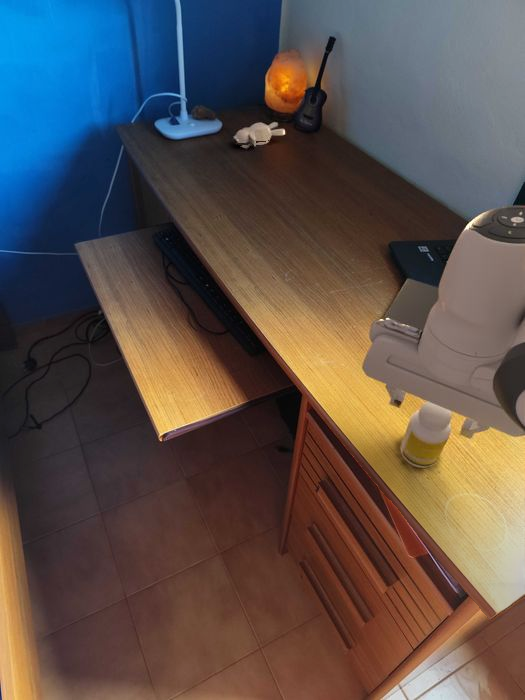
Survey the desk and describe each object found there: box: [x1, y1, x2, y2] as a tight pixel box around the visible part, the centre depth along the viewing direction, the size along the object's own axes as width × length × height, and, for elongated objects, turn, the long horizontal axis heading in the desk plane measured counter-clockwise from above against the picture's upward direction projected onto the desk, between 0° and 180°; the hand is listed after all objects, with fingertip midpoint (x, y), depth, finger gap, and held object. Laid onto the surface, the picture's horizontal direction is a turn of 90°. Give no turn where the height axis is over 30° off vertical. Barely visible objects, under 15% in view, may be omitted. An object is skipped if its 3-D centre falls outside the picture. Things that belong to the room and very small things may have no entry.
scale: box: [382, 277, 439, 330], centre depth 86 cm, size 16×15×3 cm
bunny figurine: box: [233, 121, 286, 149], centre depth 142 cm, size 10×5×15 cm
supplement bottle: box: [400, 401, 453, 469], centre depth 64 cm, size 5×5×10 cm
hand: (430, 417), depth 62 cm, fingers open, 8 cm apart
